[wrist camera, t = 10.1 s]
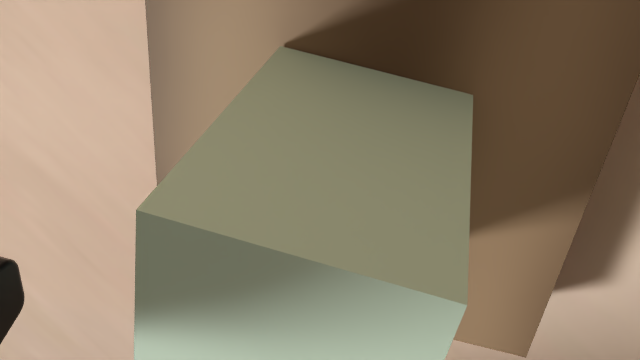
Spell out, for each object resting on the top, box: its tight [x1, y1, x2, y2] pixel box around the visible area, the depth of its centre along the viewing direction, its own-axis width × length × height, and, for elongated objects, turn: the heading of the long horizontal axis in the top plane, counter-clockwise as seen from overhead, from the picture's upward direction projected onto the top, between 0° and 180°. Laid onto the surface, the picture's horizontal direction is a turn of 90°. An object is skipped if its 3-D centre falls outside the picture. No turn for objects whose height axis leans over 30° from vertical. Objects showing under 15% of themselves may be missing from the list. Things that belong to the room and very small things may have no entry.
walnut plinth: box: [145, 0, 640, 357], centre depth 16 cm, size 11×11×3 cm
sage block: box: [134, 46, 473, 360], centre depth 12 cm, size 4×4×7 cm
